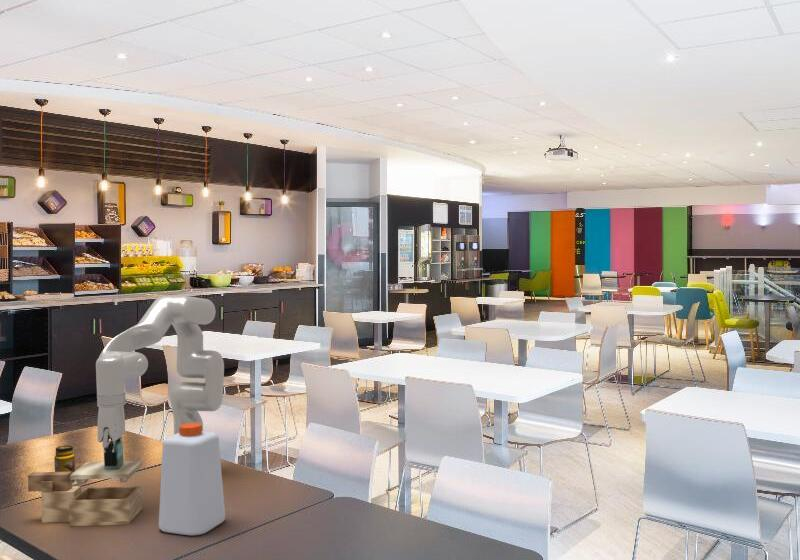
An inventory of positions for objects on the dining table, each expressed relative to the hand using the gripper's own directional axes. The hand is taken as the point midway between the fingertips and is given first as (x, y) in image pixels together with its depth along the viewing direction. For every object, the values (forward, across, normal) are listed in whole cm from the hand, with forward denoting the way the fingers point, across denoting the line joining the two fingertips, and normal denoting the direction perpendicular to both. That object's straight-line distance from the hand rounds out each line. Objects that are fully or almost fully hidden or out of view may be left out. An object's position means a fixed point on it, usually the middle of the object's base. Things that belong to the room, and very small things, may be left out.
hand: (113, 462), depth 211 cm
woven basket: (+16, +1, -7) cm, 17 cm away
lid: (+4, 0, -2) cm, 5 cm away
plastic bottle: (+16, +9, +24) cm, 30 cm away
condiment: (+16, -33, -28) cm, 47 cm away
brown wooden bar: (+7, +1, -18) cm, 19 cm away
